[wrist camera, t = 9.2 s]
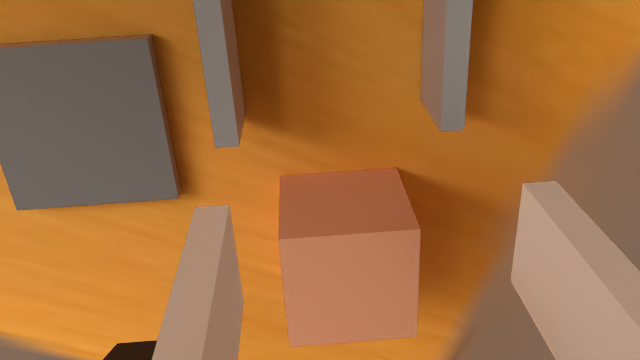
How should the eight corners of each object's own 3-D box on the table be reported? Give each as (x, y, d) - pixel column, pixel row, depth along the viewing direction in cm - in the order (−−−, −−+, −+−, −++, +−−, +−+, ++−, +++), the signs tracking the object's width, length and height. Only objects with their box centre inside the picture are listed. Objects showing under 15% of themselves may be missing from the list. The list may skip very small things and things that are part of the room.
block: (289, 270, 32) (289, 347, 26) (280, 175, 29) (278, 239, 24) (395, 262, 32) (417, 337, 27) (396, 167, 29) (420, 229, 24)
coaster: (23, 202, 29) (16, 210, 28) (-30, 46, 25) (-39, 50, 24) (181, 190, 29) (178, 198, 28) (151, 34, 25) (147, 38, 25)
